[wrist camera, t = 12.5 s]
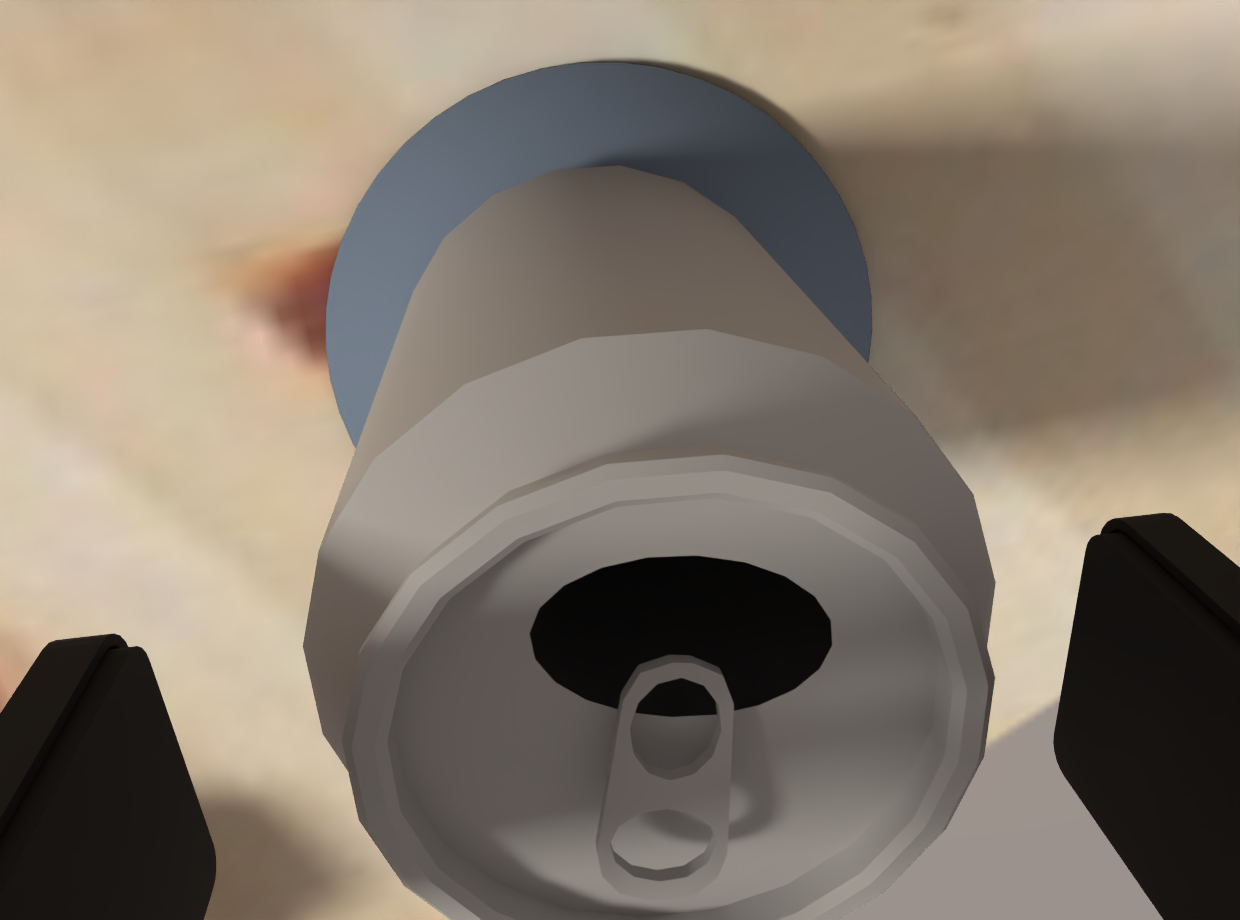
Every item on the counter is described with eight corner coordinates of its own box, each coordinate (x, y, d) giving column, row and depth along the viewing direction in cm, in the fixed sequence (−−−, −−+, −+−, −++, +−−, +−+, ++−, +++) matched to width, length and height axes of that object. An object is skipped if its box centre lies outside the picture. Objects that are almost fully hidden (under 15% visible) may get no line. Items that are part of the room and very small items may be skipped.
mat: (274, 86, 18) (270, 87, 18) (879, 38, 18) (884, 40, 18) (379, 602, 23) (377, 609, 22) (857, 552, 23) (861, 559, 23)
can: (811, 176, 19) (1187, 428, 8) (748, 522, 22) (960, 1031, 11) (410, 137, 18) (242, 362, 7) (404, 503, 21) (279, 1039, 10)
